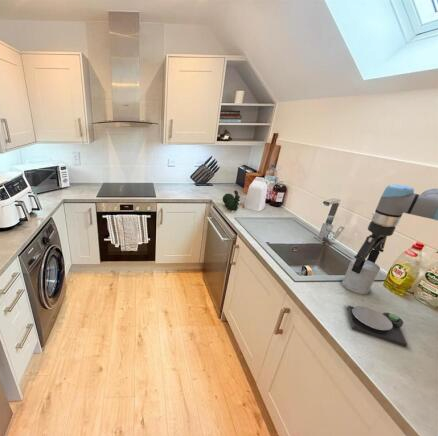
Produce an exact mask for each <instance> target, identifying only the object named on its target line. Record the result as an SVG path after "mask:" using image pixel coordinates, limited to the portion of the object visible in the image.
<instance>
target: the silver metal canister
mask: <svg viewBox="0 0 438 436" xmlns="http://www.w3.org/2000/svg"><path fill="white" fill-rule="evenodd" d="M365 260H366V261H365V263H364V265H363V267H362V270H361V272H360V274H358V273H355V272H353V271H351V270H352V268H353V265H354V263H355V261H356V258H355V257H353V258H351V259H350V262H349V264H348V267H347V270H346V272H345V274H344V277H343V279H342V281H341V284H342V286H343V287H344V288H345V289H346V290H349V291H351V292H353V293H356V294H360V295H367V294H369V293H370V290H371V288H372V286H373V284H374V282H375V280H376V277H377V276H378V273H379V272H380V270H381V267H380V265H378V264H377V263H376V262H375V263H373V262H371V261H369V260H367V258H366V259H365Z"/></svg>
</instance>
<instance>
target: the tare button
mask: <svg viewBox="0 0 438 436" xmlns="http://www.w3.org/2000/svg"><path fill="white" fill-rule="evenodd" d="M388 318H389V319H390V320H392V321H395V322H397V321H398V319H399V318H400V317H399V316H398V315H396V314H394V313H391V314H389V315H388Z"/></svg>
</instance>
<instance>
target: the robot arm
mask: <svg viewBox="0 0 438 436" xmlns="http://www.w3.org/2000/svg"><path fill="white" fill-rule="evenodd" d="M371 214H372V215H373V216H372V218H371V221H370V222H369V224H368V226H367V231H369V232H371V234H369V235H368V236H366V238H365V240H364V242H363V243H362V245H361V247H359V248H360V249H359V250H358V252H357V253H356V255H354V257H353V258H356V261H355V263H354V265H353V268H352V270H351V271H353V272H355V273H358V274H360V272H361V270H362V267H363V265H364V263H365V261H366V260H369V261H371V262H373V263H375V264H376V261H377V259H378V257H379V255H380V253H384V250H385V245H386V242H387V238H388V237H391V236H392V235H394V232H395V230H396V227H397V226H398V225H399V222H400V220H401V218H402V216H403V214H406V215H412V216H417V217H420V218H421V217H422V218H425V219H430V220H435V221H438V188H430V189H426V190H424V191H423V192H421V194H418V193H415V189H414V188H413V187H412V186H408V185H404V184H388V185H387V186H386V187H385V189H384V191H383V192H382V194H381V196H380V198H379V201H378V203H377V206H376V209H375V210H374V211H373V212H372V213H371ZM365 259H366V260H365Z"/></svg>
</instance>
